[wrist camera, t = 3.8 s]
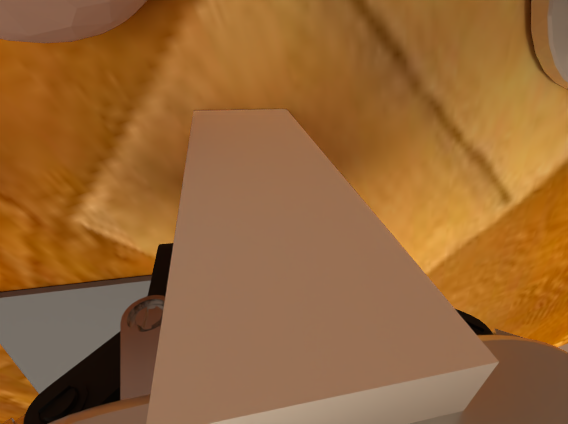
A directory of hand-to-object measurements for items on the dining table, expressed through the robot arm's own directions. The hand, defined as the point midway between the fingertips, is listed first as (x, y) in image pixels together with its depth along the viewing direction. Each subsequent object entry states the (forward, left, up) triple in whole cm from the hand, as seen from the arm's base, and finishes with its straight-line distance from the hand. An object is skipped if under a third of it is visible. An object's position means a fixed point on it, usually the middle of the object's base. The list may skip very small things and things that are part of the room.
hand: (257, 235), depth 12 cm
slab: (0, 0, -4) cm, 4 cm away
